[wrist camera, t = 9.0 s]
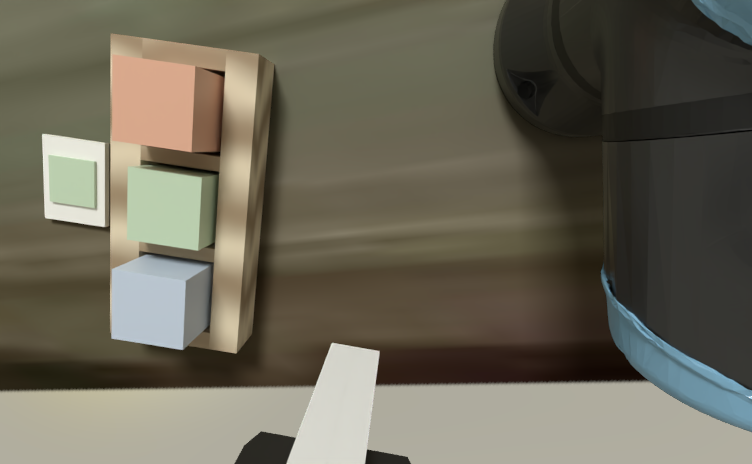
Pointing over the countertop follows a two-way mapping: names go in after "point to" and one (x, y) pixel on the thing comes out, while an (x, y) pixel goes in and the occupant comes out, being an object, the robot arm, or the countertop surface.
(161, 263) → the slate key
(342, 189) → the countertop surface
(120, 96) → the terracotta key
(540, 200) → the countertop surface
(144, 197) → the sage key
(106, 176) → the card
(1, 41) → the countertop surface
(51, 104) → the countertop surface
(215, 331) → the key panel
